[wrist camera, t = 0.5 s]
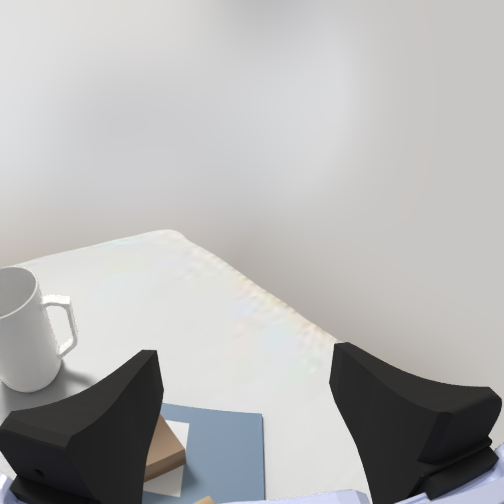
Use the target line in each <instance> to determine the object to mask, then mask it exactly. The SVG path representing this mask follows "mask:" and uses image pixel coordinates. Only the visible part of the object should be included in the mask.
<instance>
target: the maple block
mask: <svg viewBox="0 0 504 504" xmlns="http://www.w3.org/2000/svg"><path fill="white" fill-rule="evenodd" d="M193 504H216V503H215V502H214V501H213V500H212V499H211V498H210V496H209V495H208V496H207V497H205V498H203V499H201V500H199V501H197V502H195V503H193Z"/></svg>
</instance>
